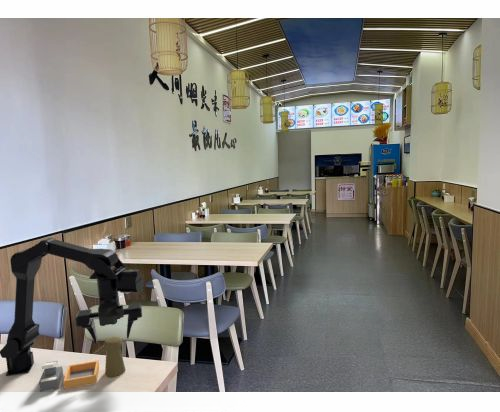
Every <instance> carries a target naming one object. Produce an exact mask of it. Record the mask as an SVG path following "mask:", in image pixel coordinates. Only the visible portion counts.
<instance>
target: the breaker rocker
mask: <svg viewBox="0 0 500 412" xmlns="http://www.w3.org/2000/svg"><path fill="white" fill-rule="evenodd" d="M58 365H59V361H58V360H55V361H54V360H53V361H48V362H47V361H46V363H44V364H43V365H41V370H44V369H48V368H54V367H57V366H58Z"/></svg>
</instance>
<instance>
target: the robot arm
mask: <svg viewBox="0 0 500 412" xmlns="http://www.w3.org/2000/svg"><path fill="white" fill-rule="evenodd" d="M48 254H49V255H51V256H55V257H60V258H63V259H65V260H70V261H74V262H77V263H80V264H84V265H85V266H86V267H87V268H88V269H89V270H91V271H93V273H92V274H91V275H90V276H89V279H90V280H96V282H97V283H96V285H97V286H96V287H97V295H98V298H97V299H98V308H97V311H96V312H93V311H92V309H91V308H90V309H82V310H78V312H77V313H76V316H75V326H76V327H81V329H86V330H87V331H88V332H89V334H90V335H91V336H90V337H91V339H92V340H93V342H94V344H97V343H98V337H97V336H98V335H97V329H96V326H95V325H96V323H95V320H98V322H99V323H98V324H99V326H101V327H104V326H105V327H106V326H109V325H111V326H113V325H116V324H117V323H118V320H121V319H123V318H124V316H127V325H126V338H127V339H129V337H130V333H131V330H132V326H133V324H134V322H135V321H138V319H140V318H142V317H143V308H142V303H140V302H135V303H128V307H126V308H124V305H120V299H119V297H120V296H119V293H123V294H124V293H125V294H126V293H127V294H128V293H129V294H130V293H131V294H133V293H134V294H140V293H141V292H142V291H143V287H144V278H143V275H142V274H141V273H140V269H128V270H127V266H126V265H125V264H124V263H123V262H122V261H121V259H120V258H119V256H118V254H117V251H115V250H113V249H110V248H109V249H108V248H89V247H84V246H81V245H76V244H73V243H70V242H66V241H63V240H58V239H56V238H55V237H47V238H46V239H42V240H40V241H39V242H38V243H37V244H35V245H33V246H31V247H29V248H26V249H22V250H21V251H18V252H15V253H13V254H12V255H11V256H10V261H9V262H10V269H11V273H12V274H13V276H14V277H15V280H16V281H15V282H16V283H15V300H14V301H15V302H14V303H15V304H14V320H13V323H12V325H11V327H10V328H9V329H10V330H9V331H8V334H7V338H6V344H5V345H4V346H3V347H2V348H1V349H0V357H1V358H2V359H5V361H6V367H7V372H6V373H5V376H6V377H9V376H14V375H15V376H16V375H20V374H26V373H29V372H30V371H31V369H32V367H33V365H34V364H35V360H34V359H35V358H34V352H33V351H32V350H31V347H32V346H33V345H34V344H35V341H36V340H37V339H38V337H39V336H40V323H35V321H34V320H33V319H34V318H33V312H34V299H35V298H34V297H35V296H34V293H35V278H36V275H37V273H38V271H39V269H40V268H41V264H42V260H43V258H44V257H46V256H47V255H48ZM113 268H114V269H113Z"/></svg>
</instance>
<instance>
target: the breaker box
mask: <svg viewBox="0 0 500 412" xmlns="http://www.w3.org/2000/svg"><path fill="white" fill-rule="evenodd" d="M63 377H64V369H63V366H55V367H54V368H48V369H43V372H42V374H41V376H40V378H39V381H38V386H39V392H41V393H42V392H45V391H51V390H57V389H60V387H61V383H62V380H63Z"/></svg>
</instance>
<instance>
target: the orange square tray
mask: <svg viewBox="0 0 500 412" xmlns="http://www.w3.org/2000/svg"><path fill="white" fill-rule="evenodd" d="M99 370H100V362H99V360H92V361H87V362H86V361H85V362H81V363H75V364H68V366H67V369H66V372H65V375H64V378H63V388H64V390H66V389H72V388H77V387H83V386H89V385H93V384H97V382H98V378H99V373H100V371H99Z"/></svg>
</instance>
